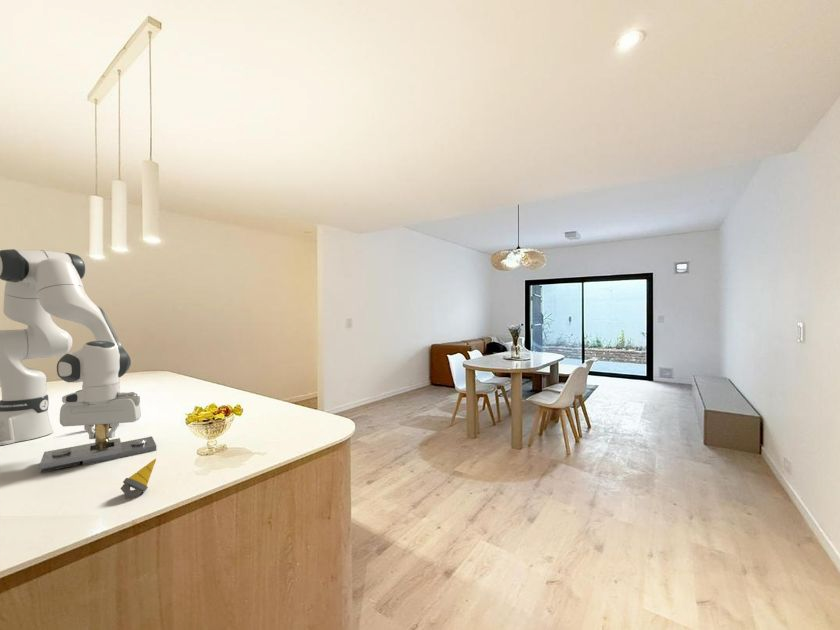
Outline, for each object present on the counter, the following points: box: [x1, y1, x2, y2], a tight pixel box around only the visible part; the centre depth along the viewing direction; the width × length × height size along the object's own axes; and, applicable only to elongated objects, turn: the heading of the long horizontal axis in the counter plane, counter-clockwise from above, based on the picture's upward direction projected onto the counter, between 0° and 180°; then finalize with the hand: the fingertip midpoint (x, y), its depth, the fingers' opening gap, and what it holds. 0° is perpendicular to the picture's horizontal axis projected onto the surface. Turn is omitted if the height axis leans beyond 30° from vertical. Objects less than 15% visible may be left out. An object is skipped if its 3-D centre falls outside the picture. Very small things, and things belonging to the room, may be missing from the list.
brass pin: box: [94, 424, 110, 450], centre depth 112 cm, size 3×3×10 cm
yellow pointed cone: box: [120, 458, 157, 500], centre depth 89 cm, size 5×5×10 cm
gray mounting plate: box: [39, 436, 157, 473], centre depth 112 cm, size 26×12×4 cm, turn 132°
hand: (102, 437), depth 112 cm, fingers closed on brass pin, 3 cm apart
